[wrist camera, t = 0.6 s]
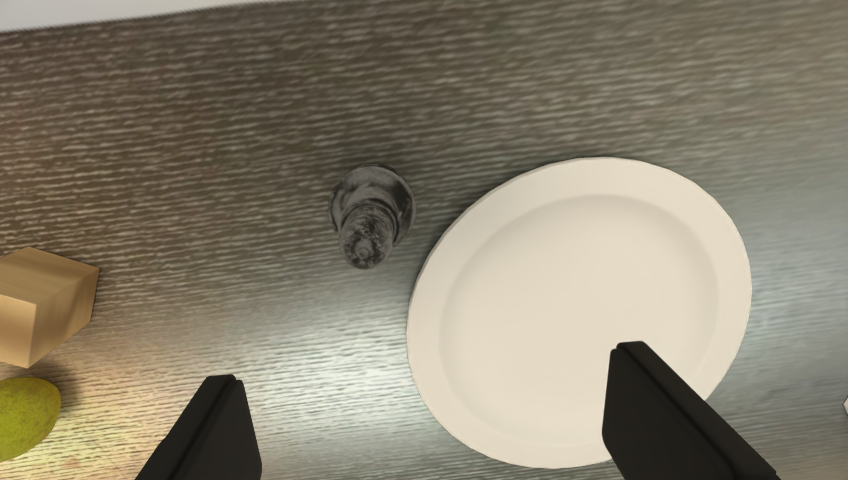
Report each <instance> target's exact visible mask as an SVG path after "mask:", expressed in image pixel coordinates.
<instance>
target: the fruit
mask: <svg viewBox="0 0 848 480" xmlns="http://www.w3.org/2000/svg"><path fill="white" fill-rule="evenodd" d="M60 409H61V395H60V392H59V390H58V388H57V387H56V386H55V385H53V384H52V383H50V382H49V381H47V380H44V379H41V378H35V377H16V378H9V379H5V380H2V381H0V462H2V461H6V460H9V459H12V458H15V457H17V456H20V455H22V454H23V453H25V452H27V451H28V450H30V449H32V448H33V447H35V446H36V445H37V444H39V443H40V442H41V441H42V440H44V439H45V438H46V437H47V436H48V434H49V433H50V432H51V431H52V429H53V427H54V425H55V423H56V421H57V418H58V416H59V413H60Z"/></svg>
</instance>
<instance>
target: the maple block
mask: <svg viewBox="0 0 848 480" xmlns="http://www.w3.org/2000/svg"><path fill="white" fill-rule="evenodd" d="M99 270H100V268H98V267H95V266H91V265H88V264H85V263H81V262H78V261H75V260H72V259H68V258H65V257H62V256H58V255H55V254H52V253H49V252H45V251H42V250H39V249H35V248H32V247H26V248H23V249H21V250H18V251H16V252H14V253H11V254H9V255H6V256H4V257H1V258H0V362H4V363H8V364H12V365H16V366H20V367H23V368H29V367H30V366H31V365H33V364H34V363H35V362H37V361H38V360H39V359H41V358H42V357H44V356H45V355H46V354H48V353H49V352H50V351H52V350H53V349H54V348H56V347H57V346H59V345H60V344H61V343H63V342H64V341H65V340H67V339H68V338H69V337H71V336H72V335H74V334H75V333H76V332H78V331H79V330H80V329H82V328H83V327H84V326H86V325H87V324H89V323H90V320H91V314H92V309H93V303H94V298H95V292H96V287H97V281H98V276H99Z"/></svg>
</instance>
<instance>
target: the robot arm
mask: <svg viewBox="0 0 848 480" xmlns="http://www.w3.org/2000/svg"><path fill="white" fill-rule="evenodd" d="M602 439H603V442H604V445H605V447H606V449H607V450H608V452H609V454H610V455H611V457H612V459H613V460H614V462H615V464H616V465H617V467H618V469H619V470H620V472H621V474H622V475H623V477H624V479H625V480H781V479H780V478H779V477H778V476H777V475H776V471H775V470H774V469H773V468H772V467H771V466H770V465H769V464H768V463H767V462H766V461H765V460H764V459H763V458H762V457H761V456H760V455H759V454H758V453H757V452H756V451H755V450H754V449H753V448H752V447H751V446H750V445H749V444H748V443H747V442H746V441H745V440H744V439H743V438H742V437H741V436H740V435H739V434H738V433H737V432H736V431H735V430H734V429H733V428H732V427H731V426H730V425H729V424H728V423H727V422H726V421H725V420H724V419H722V418H721V417H720V416H719V415H718V414H717V413H716V412H715V411H714V410H713V409H712V408H711V407H710V406H709V405H708V404H707V403H706V402H705V401H704V400H703V399H702V398H701V397H700V396H699V395H698V394H697V393H696V392H695V391H694V390H693V389H692V388H691V387H690V386H689V385H688V384H687V383H686V382H685V381H684V380H683V379H682V378H681V377H680V376H679V375H678V374H677V373H676V372H675V371H674V370H673V369H672V368H671V367H670V366H669V365H668V364H667V363H666V362H665V361H663V360H662V359H661V358H660V357H659V356H658V355H657V354H656V353H655V352H654V351H653V350H652V349H651V348H650V347H649V346H648V345H647V344H646V343H645V342H643V341H631V342H620V343H618V344H617V346H616V349H612V350H611V352H610V359H609V368H608V377H607V387H606V396H605V405H604V414H603V423H602ZM261 473H262V462H261V458H260V453H259V449H258V445H257V440H256V436H255V432H254V427H253V423H252V419H251V414H250V410H249V406H248V401H247V397H246V393H245V388H244V384H243V382H242V380H236V378H235V376H234V375H232V374H229V375H217V376H209V377H207V378H206V379H205V380H204V381H203V383H202V384H201V386H200V387H199V389H198V390H197V392H196V393H195V395H194V396H193V398H192V399H191V401H190V402H189V404H188V405H187V407H186V408H185V410H184V411H183V412H182V414H181V415H180V417H179V418H178V420H177V421H176V423H175V424H174V426H173V427H172V429H171V430H170V432H169V433H168V435H167V436H166V438H165V439H163V440H162V441H161V443H160V444H159V445H158V446H157V448H156V449H155V451H154V452H153V454H152V455H151V457H150V458H149V460H148V461H147V462H146V464H145V465H144V467H143V468H142V470H141V471H140V473H139V474H138V476H137V477H136V479H135V480H260V478H261Z"/></svg>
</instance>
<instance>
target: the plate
mask: <svg viewBox="0 0 848 480" xmlns="http://www.w3.org/2000/svg"><path fill="white" fill-rule="evenodd" d="M751 294H752V283H751V273H750V263H749V260H748V257H747V253H746V250H745V247H744V244H743V240H742V238H741V237H740V235H739V233H738V231H737V229H736V227H735V225H734V223H733V222H732V220H731V218H730V217H729V216H728V214H727V213H726V212H725V211H724V210H723V208H722V207H721V206H720V205H719V204H718V202H717V201H716V200H715V199H714V198H713V197H712V196H710V195H709V194H708V193H707V192H705V191H704V190H703V189H702V188H700V187H699V186H698V185H697V184H695V183H694V182H692V181H690V180H688V179H686V178H684V177H683V176H681V175H679V174H677V173H675V172H673V171H671V170H669V169H665V168H662V167H659V166H655V165H652V164H649V163H645V162H642V161H638V160H631V159H623V158H614V157H593V158H577V159H572V160H567V161H562V162H557V163H552V164H548V165H545V166H542V167H540V168H537V169H534V170H531V171H529V172H526V173H523V174H521V175H518V176H516V177H514V178H513V179H511V180H509V181H507V182H505V183H504V184H502V185H500V186H498V187H496V188H494V189H493V190H491V191H490V192H488V193H487V194H486V195H484V196H483V197H482V198H480V199H479V200H478V201H476V202H475V203H474V204H472V205H471V206H470V207H469V208H467V209H466V210H465V211H464V212H463V213H462V214H461V215H460V216H459V217H458V218H457V219H456V220H455V221H454V222H453V223H452V224H451V226H450V227H449V228H448V229H447V230H446V231H445V232H444V234H443V235H442V236H441V238H440V239H439V241H438V242H437V243H436V245H435V246H434V248H433V249H432V250H431V252H430V253H429V255H428V257H427V259H426V261H425V263H424V265H423V267H422V269H421V271H420V273H419V275H418V277H417V279H416V283H415V286H414V289H413V292H412V296H411V299H410V302H409V308H408V316H407V324H406V339H407V357H408V361H409V365H410V369H411V373H412V377H413V381H414V383H415V385H416V387H417V389H418V392H419V394H420V396H421V398H422V400H423V402H424V403H425V405H426V406H427V408H428V409H429V410H430V412H431V413H432V415H433V416H434V418H435V419H436V420H437V421H438V422H439V423H440V424H441V425H442V426H443V427H444V428H445V429H446V430H447V431H448V432H449V433H450V434H451V435H453V436H454V437H456V438H457V439H458V440H460V441H461V442H463V443H464V444H465V445H467V446H468V447H470V448H472V449H474V450H476V451H478V452H480V453H482V454H484V455H486V456H488V457H491V458H494V459H497V460H500V461H504V462H507V463H510V464H515V465H521V466H527V467H533V468H567V467H579V466H584V465H589V464H594V463H599V462H604V461H607V460H610V459H612V457H611V455H610V454H609V452H608V450H607V449H606V447H605V445H604V442H603V439H602V423H603V414H604V405H605V396H606V387H607V377H608V368H609V359H610V352H611V350H612V349H616V346H617V344H618V343H620V342H631V341H643V342H645V343H646V344H647V345H648V346H649V347H650V348H651V349H652V350H653V351H654V352H655V353H656V354H657V355H658V356H659V357H660V358H661V359H662V360H663V361H665V362H666V363H667V364H668V365H669V366H670V367H671V368H672V369H673V370H674V371H675V372H676V373H677V374H678V375H679V376H680V377H681V378H682V379H683V380H684V381H685V382H686V383H687V384H688V385H689V386H690V387H691V388H692V389H693V390H694V391H695V392H696V393H697V394H698V395H699V396H700V397H701V398H702V399H703V400H704V401H705V400H706V399H707V398H708V396H709V395H710V394H711V393H712V391H713V390H714V389H715V388H716V386H717V385H718V384H719V382H720V381H721V380H722V379H723V377H724V375H725V374H726V372H727V370H728V368H729V367H730V365H731V363H732V362H733V360H734V358H735V356H736V354H737V351H738V349H739V347H740V344H741V342H742V339H743V337H744V334H745V330H746V326H747V322H748V318H749V314H750V307H751Z"/></svg>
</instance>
